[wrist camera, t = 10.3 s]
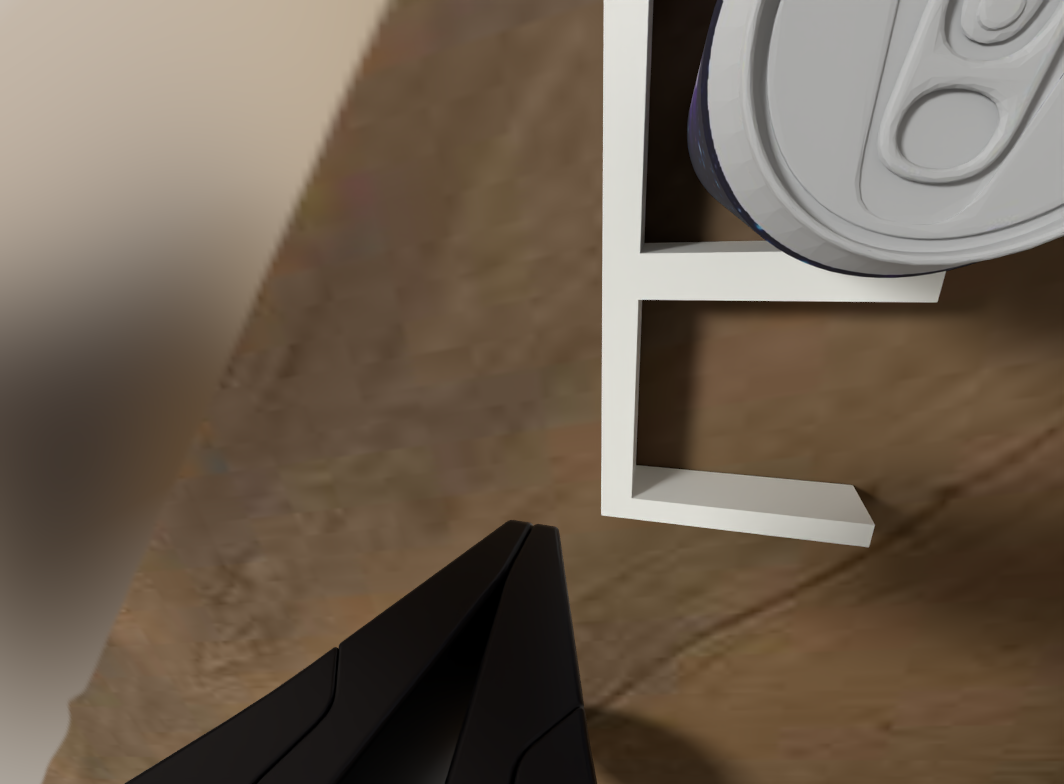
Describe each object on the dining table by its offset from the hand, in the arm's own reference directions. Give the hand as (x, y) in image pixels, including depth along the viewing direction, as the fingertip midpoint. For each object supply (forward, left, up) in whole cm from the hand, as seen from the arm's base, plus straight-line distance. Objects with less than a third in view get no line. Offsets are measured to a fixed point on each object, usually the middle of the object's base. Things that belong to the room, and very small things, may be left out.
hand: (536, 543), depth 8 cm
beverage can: (-5, -7, -13) cm, 16 cm away
